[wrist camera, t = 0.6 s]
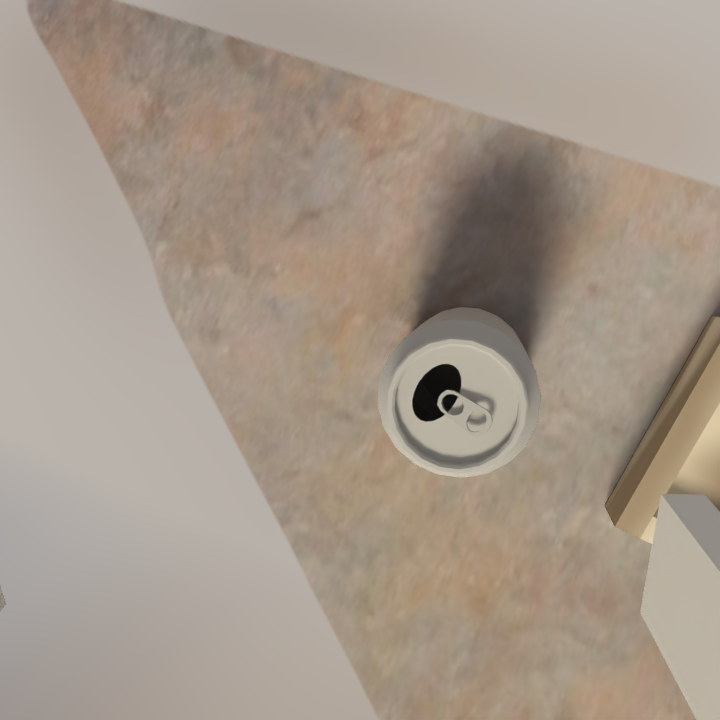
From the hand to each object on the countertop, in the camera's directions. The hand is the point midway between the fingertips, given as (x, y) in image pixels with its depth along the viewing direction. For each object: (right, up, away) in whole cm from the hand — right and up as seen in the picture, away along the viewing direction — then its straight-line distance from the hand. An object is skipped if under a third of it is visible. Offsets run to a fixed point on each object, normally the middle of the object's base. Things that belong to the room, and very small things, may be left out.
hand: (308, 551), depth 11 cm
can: (+8, +3, +26) cm, 27 cm away
